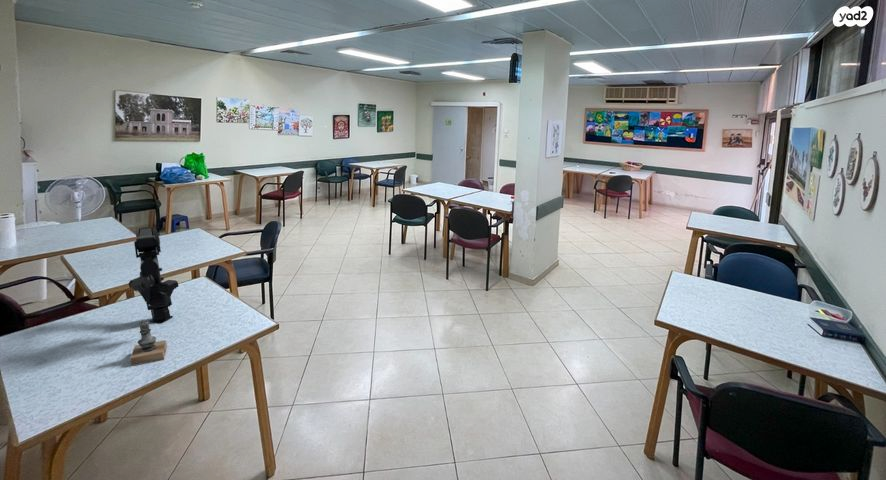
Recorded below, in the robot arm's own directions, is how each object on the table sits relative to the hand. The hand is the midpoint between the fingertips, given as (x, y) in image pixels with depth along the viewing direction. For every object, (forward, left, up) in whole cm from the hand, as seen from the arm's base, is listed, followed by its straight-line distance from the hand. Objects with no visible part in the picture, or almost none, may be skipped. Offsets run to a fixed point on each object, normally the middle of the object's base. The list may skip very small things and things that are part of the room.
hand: (157, 303), depth 181 cm
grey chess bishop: (+11, -17, -10) cm, 23 cm away
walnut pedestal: (+11, -17, -13) cm, 24 cm away
